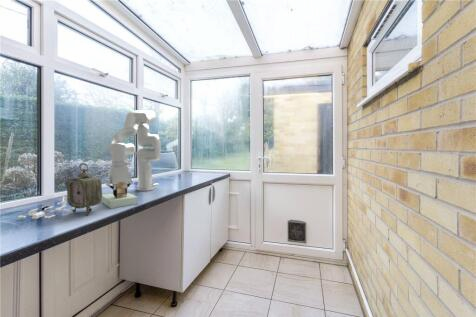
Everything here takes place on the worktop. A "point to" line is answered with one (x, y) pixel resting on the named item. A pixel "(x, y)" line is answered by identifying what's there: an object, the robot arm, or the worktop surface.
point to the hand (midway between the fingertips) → (120, 195)
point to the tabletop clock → (84, 191)
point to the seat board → (118, 200)
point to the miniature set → (42, 214)
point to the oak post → (120, 190)
